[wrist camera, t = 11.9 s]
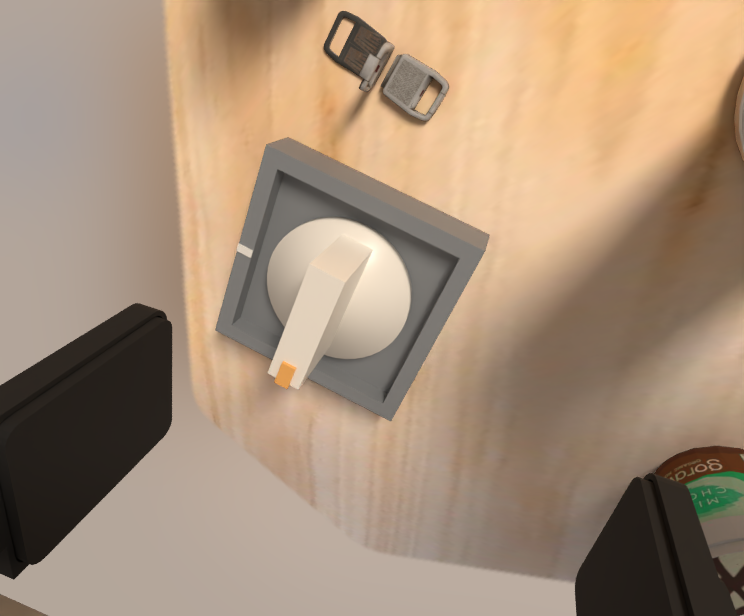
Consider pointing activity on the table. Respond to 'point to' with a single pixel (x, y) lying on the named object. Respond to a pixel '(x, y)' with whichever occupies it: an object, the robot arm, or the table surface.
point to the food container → (717, 507)
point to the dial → (334, 295)
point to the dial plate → (385, 215)
